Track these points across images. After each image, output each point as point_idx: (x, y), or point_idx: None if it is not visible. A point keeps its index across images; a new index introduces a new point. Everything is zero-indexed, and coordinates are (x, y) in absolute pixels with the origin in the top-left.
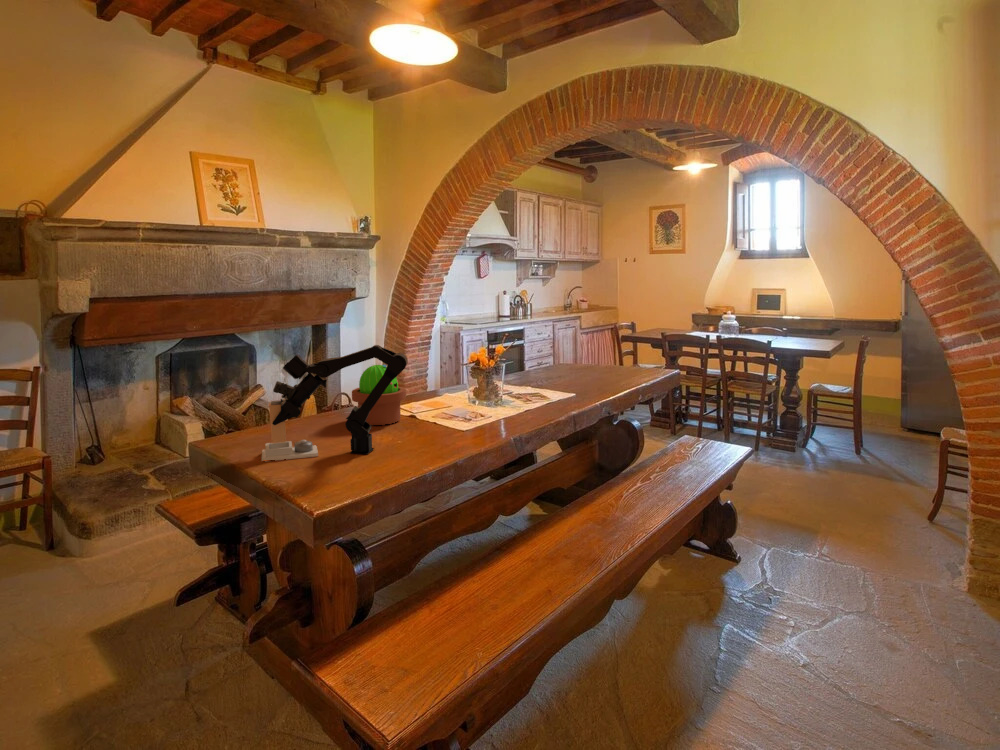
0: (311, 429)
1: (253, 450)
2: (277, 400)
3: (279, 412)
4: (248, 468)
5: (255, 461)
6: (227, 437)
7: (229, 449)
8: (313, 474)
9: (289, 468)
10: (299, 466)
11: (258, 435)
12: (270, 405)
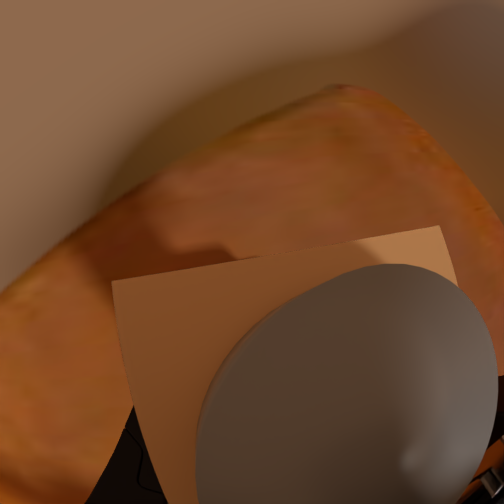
0: (499, 357)
1: (315, 226)
2: (496, 400)
3: (143, 468)
4: (72, 256)
5: (155, 265)
6: (425, 142)
7: (326, 148)
8: (10, 473)
9: (51, 412)
10: (72, 447)
11: (455, 215)
12: (147, 313)
